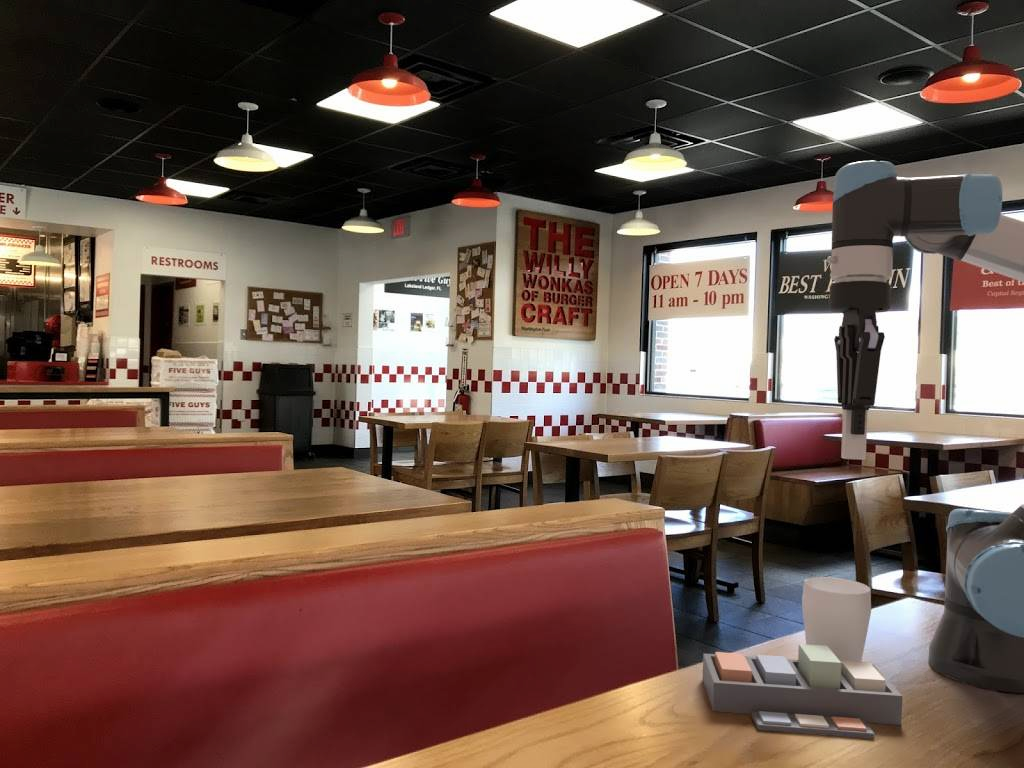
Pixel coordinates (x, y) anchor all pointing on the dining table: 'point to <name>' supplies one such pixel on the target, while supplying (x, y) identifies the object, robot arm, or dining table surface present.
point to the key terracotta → (732, 667)
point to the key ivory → (862, 676)
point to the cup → (837, 615)
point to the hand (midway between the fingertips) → (853, 458)
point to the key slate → (775, 670)
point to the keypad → (800, 697)
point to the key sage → (819, 666)
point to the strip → (812, 724)
